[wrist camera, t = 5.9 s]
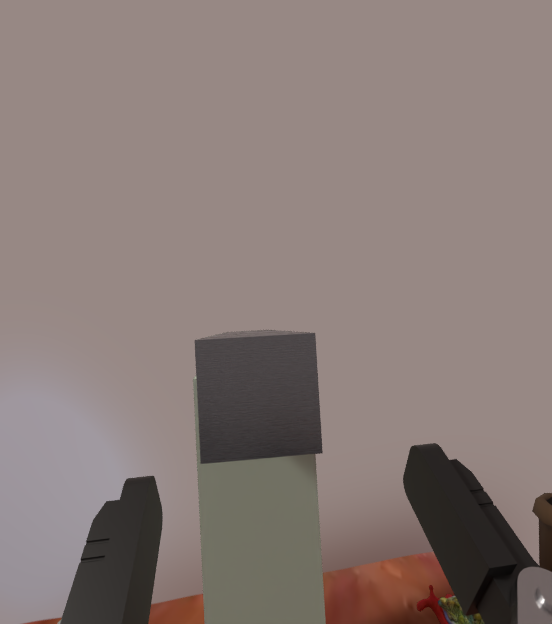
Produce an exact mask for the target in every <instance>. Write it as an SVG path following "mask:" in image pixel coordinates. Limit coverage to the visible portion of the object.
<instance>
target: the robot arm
mask: <svg viewBox="0 0 552 624" xmlns="http://www.w3.org/2000/svg"><path fill="white" fill-rule="evenodd" d="M403 483H404V489H405V492H406V495H407V497H408V500H409V501H410V504H411V506H412V508H413V510H414V512H415V514H416V516H417V518H418V520H419V522H420V524H421V526H422V528H423V530H424V533H425V535H426V537H427V538H428V541H429V543H430V545H431V547H432V549H433V551H434V553H435V555H436V557H437V559H438V561H439V563H440V565H441V567H442V569H443V572H444V574H445V576H446V578H447V580H448V582H449V584H450V586H451V588H452V590H453V592H454V594H455V596H456V598H457V600H458V602H459V604H460V606H461V609H462V611H463V613H464V615H465V616H467V615H473V614H480V616H481V618H482V620H483V622H484V623H485V624H552V572H551V571H549V570H546V569H543V568H541V567H540V566H539V565H538V564H537V563H536V562H535V561H534V560H533V558H532V557H531V556H530V554H529V553H528V551H527V550H526V549H525V548H524V546H523V544H522V543H521V541H520V540H519V539H518V537H517V536H516V534H515V533H514V531H513V530H512V529H511V527H510V526H509V524H508V523H507V521H506V520H505V519H504V517H503V516H502V514H501V513H500V512H499V510H498V509H497V507H496V506H494V505H493V501H492V500H491V499H490V497H489V496H488V494H487V493H486V492H484V490H483V487H482V486H481V484H480V483H479V482H478V480H477V479H476V477H475V476H474V474H473V473H472V472H471V471H470V470H468V469H467V468H466V467H465V466H464V465H462V464H461V463H460V462H459V461H458V460H457V459H454V460H449V459H448V458H447V456H446V455H445V453H444V452H443V450H442V449H441V447H440V446H439V445H438V444H435V443H433V444H424V445H415V446H412V447H411V449H410V452H409V456H408V460H407V464H406V468H405V472H404V477H403ZM161 531H162V506H161V502H160V498H159V493H158V489H157V485H156V481H155V478H154V476H146V477H137V478H128V479H127V480H126V481H125V483H124V486H123V490H122V494H121V497H120V500H115V501H107V502H106V503H105V504H104V506H103V507H102V509H101V510H100V511H99V513H98V514H97V515H96V517H95V518H94V520H93V522H92V525H91V528H90V531H89V534H88V538H87V541H86V542H87V543H86V545H85V547H84V550H83V554H82V557H81V563H80V564H79V566H78V569H77V572H76V575H75V578H74V582H73V585H72V588H71V591H70V594H69V597H68V600H67V604H66V607H65V610H64V613H63V616H62V619H61V622H60V624H148V621H149V614H150V607H151V600H152V593H153V586H154V579H155V572H156V566H157V558H158V551H159V545H160V538H161Z"/></svg>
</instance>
